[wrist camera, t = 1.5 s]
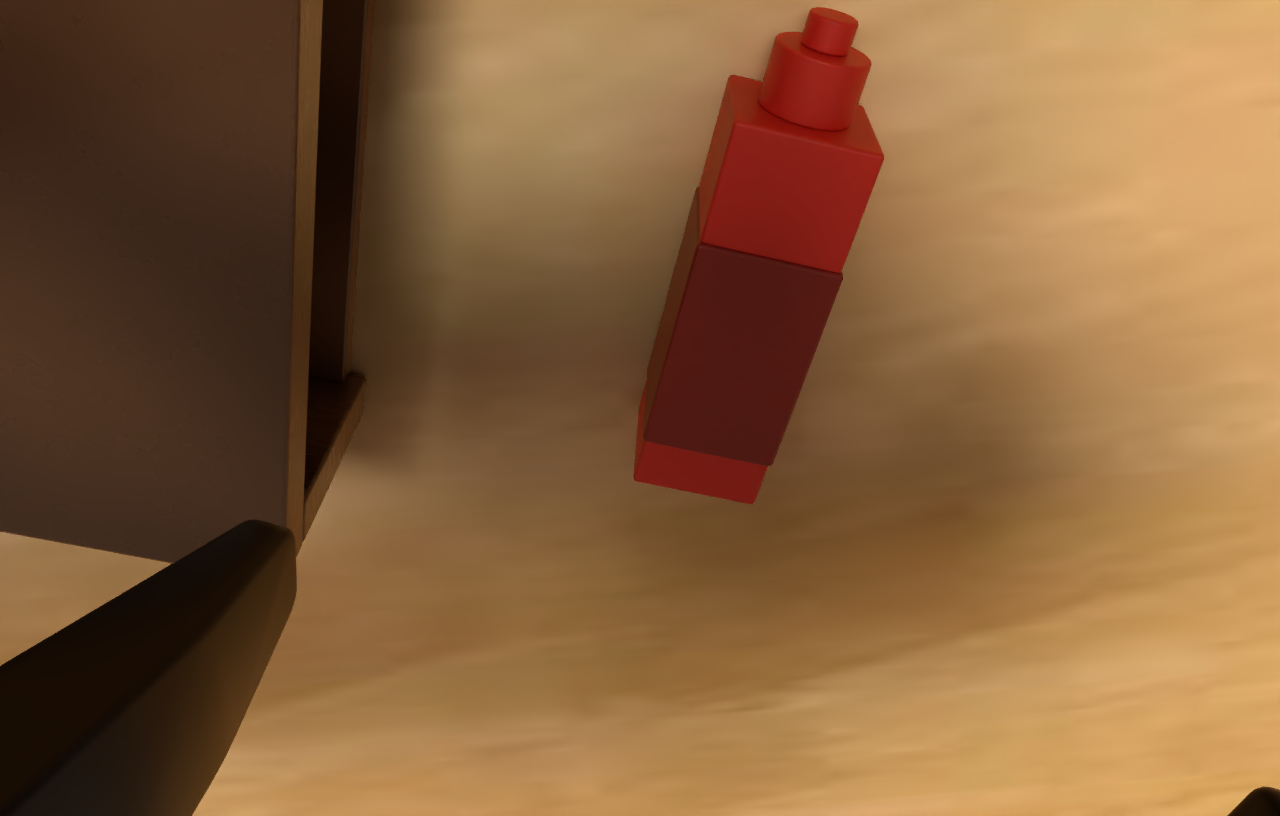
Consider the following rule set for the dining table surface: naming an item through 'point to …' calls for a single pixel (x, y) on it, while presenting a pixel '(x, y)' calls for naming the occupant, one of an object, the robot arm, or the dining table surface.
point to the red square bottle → (759, 264)
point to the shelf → (177, 265)
